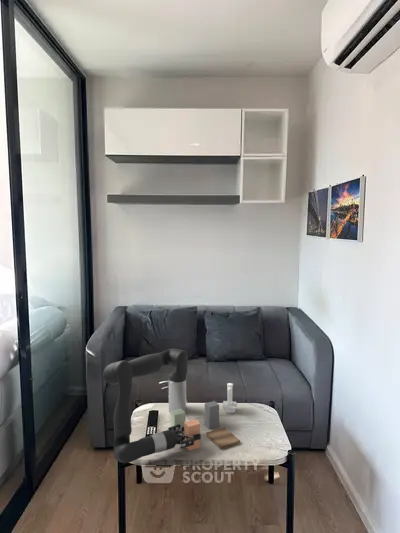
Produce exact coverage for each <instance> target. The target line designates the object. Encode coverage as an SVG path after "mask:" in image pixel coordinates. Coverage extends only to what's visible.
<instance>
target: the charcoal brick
mask: <svg viewBox="0 0 400 533" xmlns="http://www.w3.org/2000/svg"><path fill="white" fill-rule="evenodd" d="M204 425H205V427H206V428H208V429H209V430H211V429H214V428H218V427H219V426H220V404H219V403H218V402H217V401H215V400H212V401H209V402H206V403H204Z"/></svg>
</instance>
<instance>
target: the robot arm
mask: <svg viewBox="0 0 400 533" xmlns="http://www.w3.org/2000/svg"><path fill="white" fill-rule="evenodd" d="M188 358H189V356H188V352H187V351H186V350H182V349H179V348H173V347H172V348H168V349H166V350H163V351H162V352H156V353H150V354H145V355H142V356H140V357H137V358H133V359H132V360H128V361H127V360H119V361H114V362H112V363H110V364H109V363H108V365H106V366H105V367H104V370H103V374H102V377H103V379H104V381H105V382H106V383H107V384H109V385H112V386H113V385H118V387H119V388H118V389H119V391H118V392H119V393H118V398H117V402H116V405H115V408H114V411H113V432H114V433H113V434H114V438H113V455H114V459H115V460H116V461H117V462H118V463H123V464H127V463H131V462H134V461H137V460H138V459H139V460H140V459H141V458H143V457H146V456H147V457H148V456H150V455H153V454H159V453H162V452H165V451H168V450H169V451H170V450H172V449H174V448H175V447H176V445H180V449H184V448H185V449H186V447H188V446H192V445H194V441H196V440H199V439H200V440H201V438H202V434H201V433H200V434H196V435H193V436H188V434H184V433H183V431H184V426H180V424H178V425H175V426H172V427H171V426H170V427H167V428H168V429H166V430H163V431H160V432H156V433H153V434H151V435H147V436H145V437H142V438H139V439H138V440H134V441H131V438H130V436H131V434H132V432H133V430H132V417H131V403H132V402H131V401H132V387H133V386H132V384H133V378H140V377H146V376H150V375H154V374H157V373H158V372H159V371H160V370H161V369H162V367H165V366H170V367H175V370H174V371H171V372H169V374H168V412H169V413H170V414H171V411H174V410H177V409H182V410H183V411H184V412H185V413H186V411H187V374H188V364H189V362H188V361H189V359H188ZM177 427H178V429H176V428H177ZM185 437H186V440H185ZM188 438H191V439H188Z"/></svg>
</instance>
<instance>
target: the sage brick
mask: <svg viewBox="0 0 400 533" xmlns="http://www.w3.org/2000/svg"><path fill="white" fill-rule="evenodd" d="M184 422H186V412H184V411H183V410H182V409H177V410H174V411H171V413H170V427H172V426H175V425H178V424H180V426H184ZM176 429H178V427H177V428H176ZM183 433H184V431H183Z"/></svg>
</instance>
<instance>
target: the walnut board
mask: <svg viewBox="0 0 400 533" xmlns="http://www.w3.org/2000/svg"><path fill="white" fill-rule="evenodd" d="M205 434H206V437H207V438H208V439H209V440H210V441H211V442H212V443H213V444H214V445H216V446H217V447H218V448H219V449H220V450H225V449H229V448H231V447H233V446H236V444H237V445H239V443H240V444H241V439H239V438H238V437H237V436H236V435H235V434H233V433H232V432H231V431H230V430H229V429H228V428H227V427H225V426H224V427H219V428H217V429H213V430H211V431H207V432H206V433H205Z"/></svg>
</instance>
